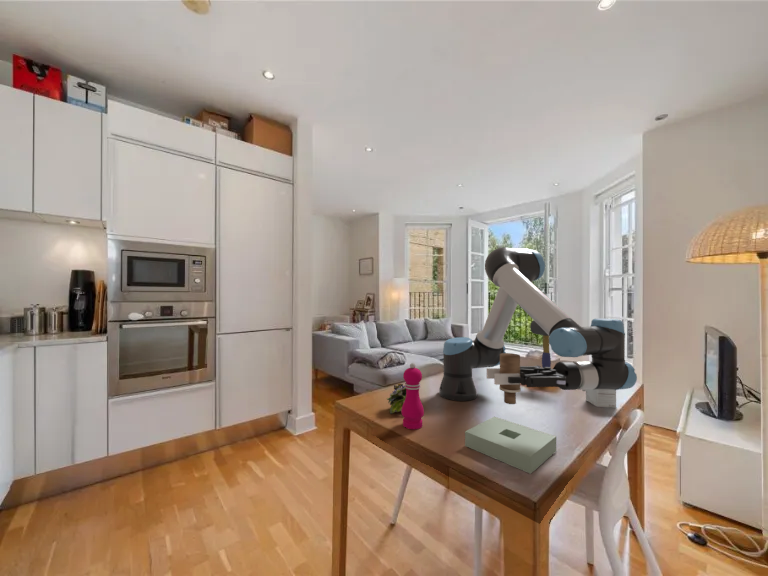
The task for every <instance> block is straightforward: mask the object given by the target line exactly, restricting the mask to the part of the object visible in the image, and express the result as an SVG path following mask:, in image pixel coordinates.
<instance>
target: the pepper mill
mask: <svg viewBox="0 0 768 576" xmlns="http://www.w3.org/2000/svg"><path fill="white" fill-rule="evenodd" d="M422 379H423V374H422V371H421V370H420V369H418V368H416V364H415V363H414V362H411V363H410V364H409V367H408V368H406V369H405V370H404V372H403V381H405V383H404V385H405V388H406V398H405V401H404V403H403V406H402V410H401V411H400V412H401V415H402V417H403V419H402V426H403V427H404V428H405V427H406V428H405V429H408V430H419V429H421V428H422V427H423V419H422V418H423V417H424V416H425V415H424V414H425V410H424V406H423V403H422V401H421V398H420V389H421V383H420V382H421V381H422Z"/></svg>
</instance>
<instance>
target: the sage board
mask: <svg viewBox="0 0 768 576" xmlns="http://www.w3.org/2000/svg"><path fill="white" fill-rule="evenodd" d="M464 446H465V447H466V448H469V449H471V450H474V451H476V452H477V453H481V454H483V455H486V456H488V457H490V458H492V459H495V460H497V461H500V462H502V463H503V464H507V465H509V466H512V467H513V468H516V469H518V470H521V471H523V472H525V473H528V474H530V475H531V474H532V473H534V471H535V470H537V469H538V468H539V467H540V466H541V465H543V464H544V462H546V461H547V460H548V459H549V458H550V457H551V456H553V455H552V454H555V453H556V452H557V436H556V435H553V434H550V433H548V432H544V431H542V430H539V429H538V430H537V429H535V428H531V427H528V426H526V425H522V424H519V423H516V422H513V421H510V420H507V419H504V418H501V417H497V416H492V417H491V418H489V419H487V420H485V421H483V422H481V423H479V424H477V425H475V426H473V427H471V428H469V429H467V430H466V431H465V432H464Z"/></svg>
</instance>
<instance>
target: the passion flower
mask: <svg viewBox="0 0 768 576" xmlns="http://www.w3.org/2000/svg"><path fill="white" fill-rule="evenodd" d="M405 398H406V388H405V384H404V383H397V384H394V385H393V391H392V393H390V394H389V397H387V398H386V400H387V401H388V404H389V405H390V408H389V414H390V415H392V414H394V413H399V412H401V411H402V406H403V403H404V401H405Z"/></svg>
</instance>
